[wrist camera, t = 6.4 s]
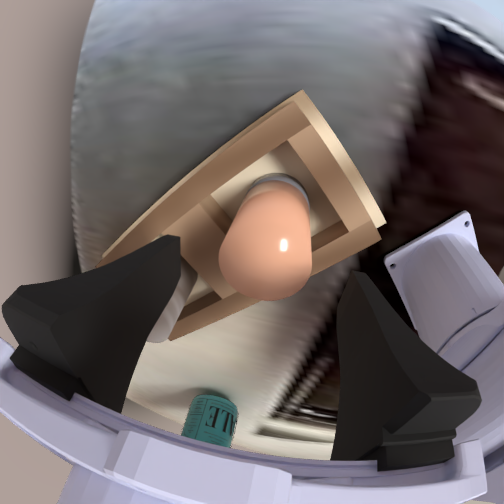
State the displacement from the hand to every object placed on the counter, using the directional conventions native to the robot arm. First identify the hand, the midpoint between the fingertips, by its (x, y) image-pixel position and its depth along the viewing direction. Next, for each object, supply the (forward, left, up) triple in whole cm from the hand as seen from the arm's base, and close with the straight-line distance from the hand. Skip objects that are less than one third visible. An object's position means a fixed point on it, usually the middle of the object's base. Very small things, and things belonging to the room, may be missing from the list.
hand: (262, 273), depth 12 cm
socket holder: (0, +5, -9) cm, 10 cm away
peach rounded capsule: (0, 0, -8) cm, 8 cm away
